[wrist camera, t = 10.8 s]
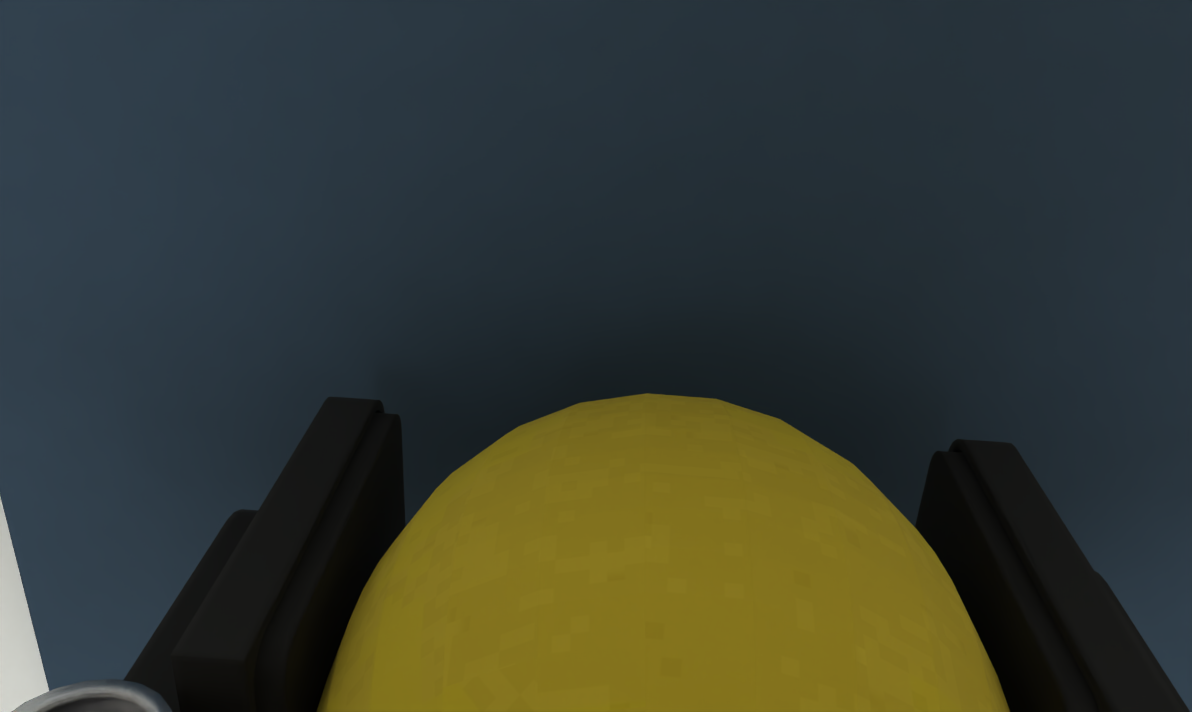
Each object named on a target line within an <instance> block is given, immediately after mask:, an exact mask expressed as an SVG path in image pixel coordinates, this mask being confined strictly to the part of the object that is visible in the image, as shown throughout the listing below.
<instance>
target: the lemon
mask: <svg viewBox="0 0 1192 712" xmlns="http://www.w3.org/2000/svg"><path fill="white" fill-rule="evenodd" d="M316 712H1010V710H1009V707H1008V704H1007V701H1006V699H1005V696H1004V693H1003V690H1002V687H1001V684H1000V682H999V679H998V676H997V674H996V672H995V669H994V667H993V665H992V663H991V661H990V659H989V657H988V654H987V652H986V650H985V648H984V646H983V644H982V642H981V640H980V638H979V635H978V633H977V631H976V629H975V627H974V625H973V623H972V621H971V619H970V617H969V615H968V613H967V611H966V609H965V606H964V604H963V602H962V600H961V598H960V596H959V594H958V592H957V590H956V588H955V586H954V584H953V582H952V580H951V578H950V576H949V575H948V573H947V572H946V570H945V568H944V567H943V565H942V563H941V562H940V560H939V558H938V557H937V555H936V554H935V552H934V551H933V549H932V548H931V547H930V546H929V544H928V543H927V542H926V541H925V539H924V538H923V537H922V535H921V534H920V533H919V532H918V530H917V529H916V528H915V527H914V526H913V525H912V524H911V523H910V522H909V521H908V520H907V519H906V518H905V516H904V515H903V514H902V513H901V512H900V511H899V510H898V509H897V508H896V507H895V506H894V505H893V504H892V503H891V502H890V501H889V500H888V499H887V498H886V497H885V496H884V494H883V493H882V492H881V491H880V490H879V489H878V488H877V487H876V486H875V485H874V484H873V483H872V482H871V481H870V480H869V479H868V478H867V477H866V476H865V475H864V474H863V473H862V472H861V471H860V470H859V469H858V468H857V467H856V466H855V465H854V464H853V463H851V462H849V461H848V460H846V459H844V458H843V457H841V456H840V455H838V454H836V453H835V452H833V451H831V450H830V449H828V448H826V447H825V446H823V445H822V444H820V443H818V442H817V441H815V440H813V439H812V438H810V437H808V436H807V435H805V434H804V433H802V432H800V431H799V430H797V429H795V428H794V427H792V426H790V425H789V424H787V423H786V422H784V421H782V420H781V419H778V418H775V417H772V416H769V415H765V414H762V413H759V412H756V411H753V410H750V409H747V408H743V407H740V406H737V405H734V404H731V403H728V402H725V401H721V400H718V399H713V398H700V397H687V396H674V395H662V394H649V393H646V394H639V395H632V396H625V397H618V398H611V399H603V400H596V401H589V402H582V403H578V404H575V405H573V406H570V407H568V408H565V409H562V410H560V411H557V412H555V413H552V414H549V415H547V416H544V417H541V418H539V419H536V420H534V421H531V422H528V423H526V424H523V425H521V426H518V427H517V428H515V429H514V430H512V431H511V432H509V433H507V434H506V435H504V436H503V437H502V438H500V439H499V440H497V441H496V442H495V443H493V444H492V445H490V446H489V447H488V448H486V449H485V450H483V451H482V452H481V453H479V454H478V455H476V456H475V457H474V458H472V459H471V460H469V461H468V462H467V463H465V464H464V465H462V466H461V467H460V468H458V469H457V470H455V471H454V472H453V473H451V474H450V475H449V476H448V477H447V478H446V479H445V480H444V481H443V482H442V483H441V484H440V485H439V486H438V487H437V488H436V489H435V491H434V492H433V493H432V494H431V496H430V497H429V498H428V499H427V501H426V502H425V503H424V504H423V506H422V507H421V508H420V509H419V511H418V512H417V513H416V514H415V516H414V517H413V518H412V519H411V521H410V522H409V523H408V524H407V526H406V527H405V528H404V529H403V531H402V532H401V533H400V534H399V536H398V537H397V538H396V539H395V541H394V542H393V543H392V545H391V546H390V547H389V549H388V550H387V552H386V553H385V554H384V556H383V557H382V558H381V560H380V561H379V562H378V564H377V566H376V568H375V569H374V571H373V573H372V574H371V576H370V578H369V580H368V581H367V583H366V585H365V587H364V588H363V590H362V593H361V595H360V597H359V599H358V602H357V604H356V606H355V608H354V611H353V613H352V615H351V618H350V620H349V622H348V625H347V628H346V630H345V633H344V636H343V638H342V641H341V644H340V646H339V649H338V651H337V654H336V657H335V659H334V662H333V665H332V667H331V670H330V673H329V675H328V678H327V680H326V683H325V686H324V690H323V693H322V696H321V699H320V702H319V705H318V708H317V711H316Z"/></svg>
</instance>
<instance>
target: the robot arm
mask: <svg viewBox="0 0 1192 712" xmlns="http://www.w3.org/2000/svg"><path fill="white" fill-rule="evenodd" d="M405 527H406V525H405V500H404V475H403V449H402V427H401V419H400V416H399V415H398V414H388V413H385V411H384V406H383V403H382V402H381V400H375V399H360V398H345V397H328V398H327V399H326V400H325V401H324V403H323V405H322V406H321V408H320V410H319V411H318V413H317V414H316V416H315V418H314V419H313V421H312V423H311V424H310V426H309V428H308V429H307V431H306V433H305V434H304V436H303V438H302V439H301V441H300V442H299V444H298V446H297V447H296V449H295V451H294V452H293V454H292V456H291V457H290V459H289V461H288V462H287V464H286V466H285V467H284V469H283V470H282V472H281V474H280V475H279V477H278V479H277V480H276V482H275V484H274V485H273V487H272V489H271V490H270V492H269V494H268V495H267V497H266V498H265V500H264V502H263V503H262V505H261V507H260V508H259V510H246V509H240V510H238V511H235V512H233V514H232V515H231V516H230V517H229V518H228V519H227V520H226V522H225V524H224V525H223V527H222V528H221V530H220V531H219V533H218V534H217V536H216V537H215V539H214V541H213V542H212V544H211V545H210V547H209V548H208V550H207V551H206V553H205V554H204V556H203V558H202V559H201V561H200V562H199V564H198V565H197V567H196V568H195V570H194V572H193V573H192V575H191V576H190V578H189V579H188V581H187V582H186V584H185V585H184V587H183V589H182V590H181V592H180V593H179V595H178V596H177V598H176V599H175V601H174V602H173V604H172V606H171V607H170V609H169V610H168V612H167V613H166V615H165V616H164V618H163V619H162V621H161V623H160V624H159V626H158V627H157V629H156V630H155V632H154V633H153V635H152V636H151V638H150V640H149V641H148V643H147V644H146V646H145V647H144V649H143V650H142V652H141V653H140V655H139V657H138V658H137V660H136V661H135V663H134V664H133V666H132V667H131V669H130V670H129V672H128V674H127V675H126V677H125V678H124V680H119V679H103V680H86V681H82V682H79V683H75V684H71V685H67V686H63V687H59V688H55V689H53V690H51V691H49V692H47V693H44V694H42V695H40V696H38V697H36V698H33V699H31V700H29V701H27V702H25V703H24V704H22V705H21V706H19V707H18V708H16V709H15V710H13V711H12V712H316V711H317V708H318V705H319V702H320V699H321V696H322V693H323V690H324V686H325V683H326V680H327V678H328V675H329V673H330V670H331V667H332V665H333V662H334V659H335V657H336V654H337V651H338V649H339V646H340V644H341V641H342V638H343V636H344V633H345V630H346V628H347V625H348V622H349V620H350V618H351V615H352V613H353V611H354V608H355V606H356V604H357V602H358V599H359V597H360V595H361V593H362V590H363V588H364V587H365V585H366V583H367V581H368V580H369V578H370V576H371V574H372V573H373V571H374V569H375V568H376V566H377V564H378V562H379V561H380V560H381V558H382V557H383V556H384V554H385V553H386V552H387V550H388V549H389V547H390V546H391V545H392V543H393V542H394V541H395V539H396V538H397V537H398V536H399V534H400V533H401V532H402V531H403V529H404V528H405ZM915 528H916V529H917V530H918V532H919V533H920V534H921V535H922V537H923V538H924V539H925V541H926V542H927V543H928V544H929V546H930V547H931V548H932V549H933V551H934V552H935V554H936V555H937V557H938V558H939V560H940V562H941V563H942V565H943V567H944V568H945V570H946V572H947V573H948V575H949V576H950V578H951V580H952V582H953V584H954V586H955V588H956V590H957V592H958V594H959V596H960V598H961V600H962V602H963V604H964V606H965V609H966V611H967V613H968V615H969V617H970V619H971V621H972V623H973V625H974V627H975V629H976V631H977V633H978V635H979V638H980V640H981V642H982V644H983V646H984V648H985V650H986V652H987V654H988V657H989V659H990V661H991V663H992V665H993V667H994V669H995V672H996V674H997V676H998V679H999V682H1000V684H1001V687H1002V690H1003V693H1004V696H1005V699H1006V701H1007V704H1008V707H1009V710H1010V712H1190V711H1189V709H1188V707H1187V706H1186V704H1185V703H1184V701H1183V700H1182V698H1181V697H1180V695H1179V693H1178V692H1177V690H1176V689H1175V687H1174V686H1173V684H1172V683H1171V681H1170V679H1169V678H1168V676H1167V675H1166V673H1165V672H1164V670H1163V669H1162V667H1161V666H1160V664H1159V662H1158V661H1157V659H1156V658H1155V656H1154V655H1153V653H1152V652H1151V650H1150V648H1149V647H1148V645H1147V644H1146V642H1145V641H1144V639H1143V638H1142V636H1141V634H1140V633H1139V631H1138V630H1137V628H1136V627H1135V625H1134V624H1133V622H1132V621H1131V619H1130V617H1129V616H1128V614H1127V613H1126V611H1125V610H1124V608H1123V607H1122V605H1121V603H1120V602H1119V600H1118V599H1117V597H1116V596H1115V594H1114V593H1113V591H1112V589H1111V588H1110V586H1109V585H1108V583H1107V582H1106V581H1105V580H1104V579H1103V577H1102V576H1101V575H1100V574H1099V573H1098V572H1096V571H1094V569H1093V568H1092V566H1091V565H1090V563H1089V562H1088V560H1087V558H1086V557H1085V555H1084V554H1083V552H1082V551H1081V549H1080V547H1079V546H1078V544H1077V543H1076V541H1075V540H1074V538H1073V536H1072V535H1071V533H1070V532H1069V530H1068V529H1067V527H1066V525H1065V524H1064V522H1063V521H1062V519H1061V518H1060V516H1059V514H1058V513H1057V511H1056V510H1055V508H1054V507H1053V505H1052V503H1051V502H1050V500H1049V499H1048V497H1047V496H1046V494H1045V492H1044V491H1043V489H1042V488H1041V486H1040V485H1039V483H1038V481H1037V480H1036V478H1035V477H1034V475H1033V474H1032V472H1031V470H1030V469H1029V467H1028V466H1027V464H1026V463H1025V461H1024V459H1023V458H1022V456H1021V455H1020V453H1019V452H1018V450H1017V448H1016V447H1015V446H1014V445H1013V444H1012V443H1008V442H995V441H981V440H966V439H956V440H955V441H953V442H952V444H951V446H950V448H949V450H948V451H936V452H935V453H934V454H933V456H932V458H931V461H930V464H929V468H928V473H927V477H926V481H925V486H924V490H923V494H922V498H921V503H920V507H919V511H918V516H917V520H916V524H915Z"/></svg>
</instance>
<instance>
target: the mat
mask: <svg viewBox="0 0 1192 712" xmlns="http://www.w3.org/2000/svg"><path fill="white" fill-rule="evenodd" d="M646 393H649V394H662V395H674V396H687V397H700V398H713V399H718V400H721V401H725V402H728V403H731V404H734V405H737V406H740V407H743V408H747V409H750V410H753V411H756V412H759V413H762V414H765V415H769V416H772V417H775V418H778V419H781V420H782V421H784V422H786V423H787V424H789V425H790V426H792V427H794V428H795V429H797V430H799V431H800V432H802V433H804V434H805V435H807V436H808V437H810V438H812V439H813V440H815V441H817V442H818V443H820V444H822V445H823V446H825V447H826V448H828V449H830V450H831V451H833V452H835V453H836V454H838V455H840V456H841V457H843V458H844V459H846V460H848V461H849V462H851V463H853V464H854V465H855V466H856V467H857V468H858V469H859V470H860V471H861V472H862V473H863V474H864V475H865V476H866V477H867V478H868V479H869V480H870V481H871V482H872V483H873V484H874V485H875V486H876V487H877V488H878V489H879V490H880V491H881V492H882V493H883V494H884V496H885V497H886V498H887V499H888V500H889V501H890V502H891V503H892V504H893V505H894V506H895V507H896V508H897V509H898V510H899V511H900V512H901V513H902V514H903V515H904V516H905V518H906V519H907V520H908V521H909V522H910V523H911V524H912V525H913V526H914V527H915V524H916V520H917V516H918V511H919V507H920V503H921V498H922V494H923V490H924V486H925V481H926V477H927V473H928V468H929V464H930V461H931V458H932V456H933V454H934V453H935V452H936V451H948V450H949V448H950V446H951V444H952V442H953V441H955V440H956V439H966V440H981V441H995V442H1008V443H1012V444H1013V445H1014V446H1015V447H1016V448H1017V450H1018V452H1019V453H1020V455H1021V456H1022V458H1023V459H1024V461H1025V463H1026V464H1027V466H1028V467H1029V469H1030V470H1031V472H1032V474H1033V475H1034V477H1035V478H1036V480H1037V481H1038V483H1039V485H1040V486H1041V488H1042V489H1043V491H1044V492H1045V494H1046V496H1047V497H1048V499H1049V500H1050V502H1051V503H1052V505H1053V507H1054V508H1055V510H1056V511H1057V513H1058V514H1059V516H1060V518H1061V519H1062V521H1063V522H1064V524H1065V525H1066V527H1067V529H1068V530H1069V532H1070V533H1071V535H1072V536H1073V538H1074V540H1075V541H1076V543H1077V544H1078V546H1079V547H1080V549H1081V551H1082V552H1083V554H1084V555H1085V557H1086V558H1087V560H1088V562H1089V563H1090V565H1091V566H1092V568H1093V569H1094V571H1096V572H1098V573H1099V574H1100V575H1101V576H1102V577H1103V579H1104V580H1105V581H1106V582H1107V583H1108V585H1109V586H1110V588H1111V589H1112V591H1113V593H1114V594H1115V596H1116V597H1117V599H1118V600H1119V602H1120V603H1121V605H1122V607H1123V608H1124V610H1125V611H1126V613H1127V614H1128V616H1129V617H1130V619H1131V621H1132V622H1133V624H1134V625H1135V627H1136V628H1137V630H1138V631H1139V633H1140V634H1141V636H1142V638H1143V639H1144V641H1145V642H1146V644H1147V645H1148V647H1149V648H1150V650H1151V652H1152V653H1153V655H1154V656H1155V658H1156V659H1157V661H1158V662H1159V664H1160V666H1161V667H1162V669H1163V670H1164V672H1165V673H1166V675H1167V676H1168V678H1169V679H1170V681H1171V683H1172V684H1173V686H1174V687H1175V689H1176V690H1177V692H1178V693H1179V695H1180V697H1181V698H1182V700H1183V701H1184V703H1185V704H1186V706H1187V707H1188V709H1189V711H1190V712H1192V0H0V496H1V500H2V504H3V508H4V512H5V516H6V520H7V524H8V528H9V532H10V536H11V540H12V544H13V548H14V552H15V556H16V560H17V564H18V568H19V572H20V576H21V580H22V584H23V588H24V592H25V596H26V600H27V604H28V608H29V612H30V616H31V619H32V623H33V627H34V631H35V635H36V639H37V643H38V647H39V651H40V655H41V659H42V663H43V667H44V671H45V675H46V679H47V683H48V687H49V691H51V690H53V689H55V688H59V687H63V686H67V685H71V684H75V683H79V682H82V681H86V680H103V679H119V680H124V678H125V677H126V675H127V674H128V672H129V670H130V669H131V667H132V666H133V664H134V663H135V661H136V660H137V658H138V657H139V655H140V653H141V652H142V650H143V649H144V647H145V646H146V644H147V643H148V641H149V640H150V638H151V636H152V635H153V633H154V632H155V630H156V629H157V627H158V626H159V624H160V623H161V621H162V619H163V618H164V616H165V615H166V613H167V612H168V610H169V609H170V607H171V606H172V604H173V602H174V601H175V599H176V598H177V596H178V595H179V593H180V592H181V590H182V589H183V587H184V585H185V584H186V582H187V581H188V579H189V578H190V576H191V575H192V573H193V572H194V570H195V568H196V567H197V565H198V564H199V562H200V561H201V559H202V558H203V556H204V554H205V553H206V551H207V550H208V548H209V547H210V545H211V544H212V542H213V541H214V539H215V537H216V536H217V534H218V533H219V531H220V530H221V528H222V527H223V525H224V524H225V522H226V520H227V519H228V518H229V517H230V516H231V515H232V514H233V512H235V511H238V510H240V509H246V510H259V508H260V507H261V505H262V503H263V502H264V500H265V498H266V497H267V495H268V494H269V492H270V490H271V489H272V487H273V485H274V484H275V482H276V480H277V479H278V477H279V475H280V474H281V472H282V470H283V469H284V467H285V466H286V464H287V462H288V461H289V459H290V457H291V456H292V454H293V452H294V451H295V449H296V447H297V446H298V444H299V442H300V441H301V439H302V438H303V436H304V434H305V433H306V431H307V429H308V428H309V426H310V424H311V423H312V421H313V419H314V418H315V416H316V414H317V413H318V411H319V410H320V408H321V406H322V405H323V403H324V401H325V400H326V399H327V398H328V397H345V398H360V399H375V400H381V402H382V403H383V406H384V411H385V413H388V414H398V415H399V416H400V419H401V427H402V449H403V475H404V500H405V525H406V526H407V524H408V523H409V522H410V521H411V519H412V518H413V517H414V516H415V514H416V513H417V512H418V511H419V509H420V508H421V507H422V506H423V504H424V503H425V502H426V501H427V499H428V498H429V497H430V496H431V494H432V493H433V492H434V491H435V489H436V488H437V487H438V486H439V485H440V484H441V483H442V482H443V481H444V480H445V479H446V478H447V477H448V476H449V475H450V474H451V473H453V472H454V471H455V470H457V469H458V468H460V467H461V466H462V465H464V464H465V463H467V462H468V461H469V460H471V459H472V458H474V457H475V456H476V455H478V454H479V453H481V452H482V451H483V450H485V449H486V448H488V447H489V446H490V445H492V444H493V443H495V442H496V441H497V440H499V439H500V438H502V437H503V436H504V435H506V434H507V433H509V432H511V431H512V430H514V429H515V428H517V427H518V426H521V425H523V424H526V423H528V422H531V421H534V420H536V419H539V418H541V417H544V416H547V415H549V414H552V413H555V412H557V411H560V410H562V409H565V408H568V407H570V406H573V405H575V404H578V403H582V402H589V401H596V400H603V399H611V398H618V397H625V396H632V395H639V394H646Z"/></svg>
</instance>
